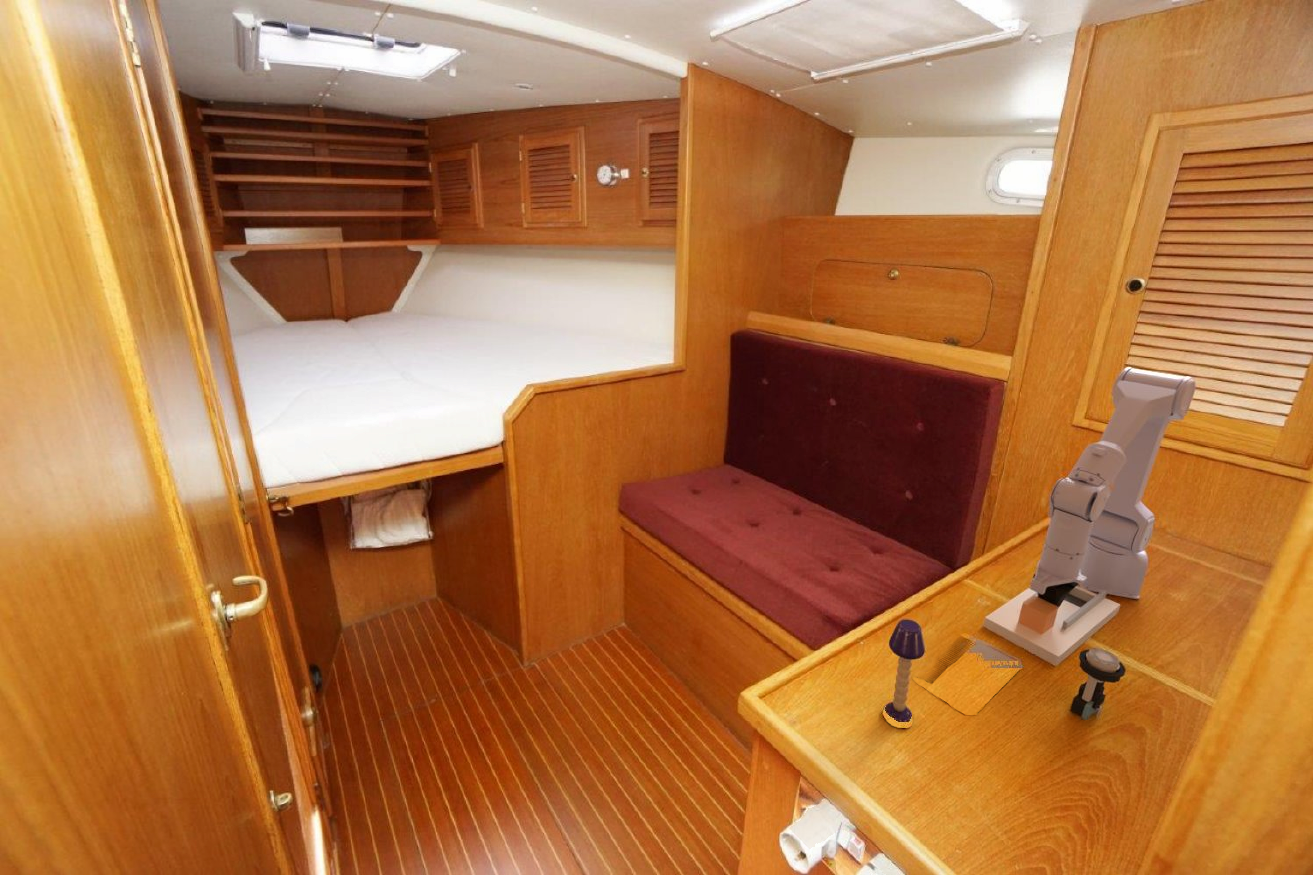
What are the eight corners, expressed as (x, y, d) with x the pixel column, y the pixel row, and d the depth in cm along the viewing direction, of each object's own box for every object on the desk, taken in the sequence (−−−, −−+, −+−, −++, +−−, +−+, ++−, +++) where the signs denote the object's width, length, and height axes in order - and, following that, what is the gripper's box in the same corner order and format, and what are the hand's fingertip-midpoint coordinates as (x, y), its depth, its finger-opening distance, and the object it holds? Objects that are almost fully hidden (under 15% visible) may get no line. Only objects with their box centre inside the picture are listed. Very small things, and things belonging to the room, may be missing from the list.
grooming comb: (964, 633, 102) (964, 630, 102) (1026, 666, 94) (1027, 662, 94) (907, 681, 92) (908, 678, 91) (972, 722, 84) (973, 718, 84)
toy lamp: (893, 734, 82) (910, 640, 76) (870, 710, 86) (885, 619, 80) (919, 723, 83) (937, 630, 77) (895, 700, 87) (911, 610, 82)
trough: (1047, 582, 115) (1051, 567, 114) (1117, 613, 106) (1122, 597, 105) (983, 626, 103) (986, 610, 102) (1056, 666, 94) (1061, 649, 92)
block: (1029, 613, 103) (1034, 595, 102) (1053, 625, 100) (1058, 606, 99) (1017, 622, 101) (1022, 603, 100) (1042, 634, 98) (1047, 615, 96)
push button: (1080, 688, 89) (1096, 636, 86) (1120, 711, 85) (1139, 657, 81) (1057, 705, 86) (1073, 652, 83) (1097, 730, 82) (1116, 675, 78)
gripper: (1071, 570, 90) (1051, 640, 95) (1110, 543, 98) (1090, 609, 102) (1024, 551, 96) (1007, 617, 100) (1064, 526, 103) (1047, 589, 108)
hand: (1046, 612), depth 102 cm, fingers closed
